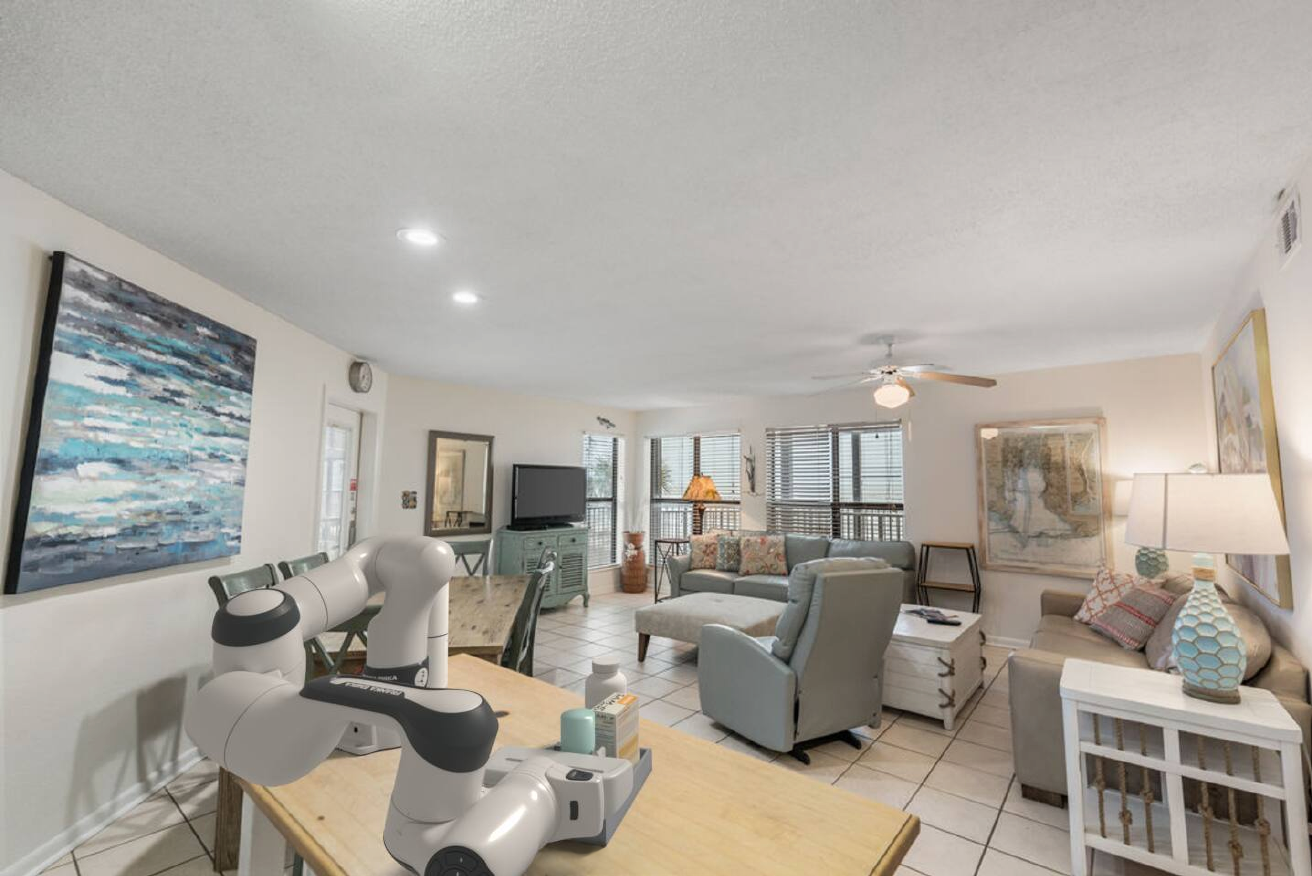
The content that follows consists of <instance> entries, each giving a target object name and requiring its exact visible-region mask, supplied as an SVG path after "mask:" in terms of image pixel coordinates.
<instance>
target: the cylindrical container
mask: <svg viewBox="0 0 1312 876" xmlns="http://www.w3.org/2000/svg"><path fill="white" fill-rule="evenodd" d="M449 592H450V581H449V582H448V583H447V584H446V585H444V586H443V587H442V588H441V589H440V591H439V592H438V594H437V595H436V597H435V600H434V602H433V605H432V608H431V611H430V615H429V621H428V636H427V655H428V656H429V677H428V683H427V687H429V688H447V686H448V678H449V677H448V676H449V675H448V674H449V673H448V670H449V669H448V667H449V666H448V664H449V662H448V661H449V613H450V612H449V603H450V600H449V597H450V593H449Z"/></svg>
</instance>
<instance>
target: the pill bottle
mask: <svg viewBox="0 0 1312 876" xmlns="http://www.w3.org/2000/svg"><path fill="white" fill-rule="evenodd" d="M620 661H621V660H620V659H619V658H618V657H615V656H609V655H608V656H599V657H595V658H594V659H593V660H592V661H591V672H592V673H590V674H588V676H587V677H586V679H585V681H584V683H585V684H584V708H585V709H590V710H591V709H593V708H594V707H595V706H597V705H598V704H600V703H601V702H602V701H604V700H605V699H606V698H608V697H609V696H611V695H612V694H613V693H624V694H628V693H627V692H628V691H627V690H628V689H627V688H628V687H627V686H628V685H627V684H628V683H627V682H628V681H627V678H626V676H625V674H623V673H622V672H620V670H621V669H620V668H621V667H620V665H621V662H620Z"/></svg>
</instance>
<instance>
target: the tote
mask: <svg viewBox="0 0 1312 876" xmlns="http://www.w3.org/2000/svg"><path fill="white" fill-rule="evenodd" d="M639 748H640V761H639V763H638V764H637V766H636V767H635V769H634V770H633V788H632V791H631V793H630V795H629V797H628V798H627V800H626V801H625V802H624V804H623V805H622V806H621V808H620V809H619V810H618V811H617V812H616V813H615V814H614V815H613V816H611V817H610V818H608V819H605V820H603V828H602V831H601V832H600V834H598V835H597V836H594V837H579V838H570V839H564V840H565V841H572V842H577V843H584V844H589V845H596V846H599V847H600V846H601V847H607V846H608V845H609V842H610V841H611V840H612V838H613V836H614V834H615V833H616V831H617V829H618V827H619V826H620V824H621V822H622V821H623V820H624V818H625V816H626V814H627V812H628V811H629V809H630V807H631V806H632V804H633V803H634V801H635V800H636V798H637V796H638V794H639V793H640V791H641V789H642V788H643V786H644V784H645V782H646V780H647V779H648V778H649V776H650V774H651V772H652V771H653V762H652V761H653V760H652V759H653V758H652V757H653V755H652V753H653V751H652V748H649V747H642V746H639Z"/></svg>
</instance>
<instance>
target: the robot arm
mask: <svg viewBox="0 0 1312 876" xmlns="http://www.w3.org/2000/svg"><path fill="white" fill-rule="evenodd" d="M455 568H456V555H455V552H454V549H453V548H452V547H451V545H450V544H449V543H447V542H446V541H443V540H442V539H441V540H440V539H438V538H435V537H431V536H428V535H427V536H426V535H410V534H409V535H406V534H403V535H402V534H399V535H397V534H377V535H372V536H368V537H365V538H361V539H359V540H356V542H354V543H352V544H351V545H350V547H349V548H348V549H347V551H346V552H344V553H343V554H342V555H340V556H338V557H337V558H335V559H333V560H331V561H328V562H326V563H324V564H320V565H319V566H317V567H314V568H311V569H309V570H307V571H305V572H302V573H299V574H296V575H295V576H292V577H289V578H287V579H285V580H283V581H280V582H279V583H277V584H274V585H273V586H272V585H271V587H264V588H256V589H255V588H254V589H250V590H247V591H244V592H240V593H239V594H236V595H234V596H232V597H231V598H229V599H228V600H227V601H226V602H224V603H223V604H222V605H220V607H219V608H218V609H217V611H216V612H215V613H214V617H213V620H212V625H211V630H210V636H211V638H212V640H213V641H212V642H213V645H212V671H213V676H214V678H213V679H211V680H210V681H208V682H207V683H205V684H204V685H203V686H201V688H200V689H199V690H198V691H197V692H196V693H195V694H194V696H193V697H192V699H191V700H190V701H189V704H187V705H188V706H187V708H186V710H185V713H184V717H183V727H184V728H183V729H184V731H185V732H184V733H186V736H187V738H188V739H189V740H190V741H191V742H192V744H194V746H195V747H196V748H197V749H198V750H199V751H200V752H202V753H203V754H204V755H205V756H206V757H208V759H210V760H211V761H213V762H214V763H215V764H217V765H218V766H220V767H221V768H223V769H225V770H226V771H228V772H230V773H232V774H234V775H235V776H237V777H239V778H241V779H243V780H244V781H246V782H249V783H251V784H254V785H257V786H261V787H267V788H277V787H281V786H285V785H289V784H292V783H294V782H296V781H298V780H301V779H302V778H304V777H305V776H307V775H308V774H310V773H311V772H313V771H314V770H315V769H317V767H319V766H320V765H321V764H322V763H323V762H324V761H325V760H326V759H327V758H328V757H330V755H331V754H332V752H333V751H334V750H335V749H338V748H339V749H338V750H341V749H342V751H345V752H349V753H351V754H355V755H361V756H362V755H367V754H370V753H373V752H377V751H380V750H381V751H382V750H386V749H393V748H397V747H401V754H400V758H399V763H398V768H397V772H396V775H395V780H394V784H393V788H392V792H391V794H390V800H389V803H388V809H387V813H386V818H385V823H384V829H383V834H382V835H383V836H382V839H383V844H384V847H385V849H386V851H387V853H388V854H389V855H390V857H391V858H392V859H393V861H395V862H396V863H397V864H399V865H400V866H401V867H403V868H404V869H406V870H407V871H408V872H411V873H413V874H414V875H416V876H523V875H524V873H525V872H526V871H527V870H528V869H529V867H530V866H531V864H532V863H533V862H534V860H535V857H536V855H537V853H538V851H541V849H543V848H544V847H545V846H546V845H547V844H550V843H555V842H558V841H563V840H565V839H570V838H579V837H594V836H597V835H598V834H600V832H601V831H602V828H603V820H605V819H608V818H610V817H611V816H613V815H614V814H615V813H616V812H617V811H618V810H619V809H620V808H621V806H622V805H623V804H624V802H625V801H626V800H627V798H628V797H629V795H630V793H631V791H632V788H633V766H632V764H631V762H630V761H629V760H626V759H618V758H610V757H605V756H606V749H605V747H600V746H595V748H593V749H592V755H586V754H578V753H570V752H562V751H561V741H559V740H558V741H557V740H554V742H552V743H551V744H549V745H545V746H542V747H538V748H537V747H530V746H521V745H513V744H507V745H503V746H500V747H498V748H497V749H496V750H495V751H494V752H493V753H492V750H493V748H494V744H495V742H496V741H495V740H496V738H497V734H498V732H499V728H500V727H499V726H500V725H499V720H498V717H497V715H496V713H495V712H494V710H493V708H492V706H491V705H490V703H489V702H488V700H486V698H485V697H484V696H483V695H482V694H480V693H479V692H477V691H474V690H470V689H463V688H447V687H445V688H429V687H427V683H428V677H429V656H428V655H427V636H428V621H429V615H430V611H431V608H432V605H433V602H434V600H435V597H436V595H437V594H438V592H439V591H440V589H441V588H442V587H443V586H444V585H446V584H447V583H448V582H449V583H450V580H451V579H452V577H453V576H454V572H455ZM381 593H385V594H384V595H385V597H384V600H383V603H382V605H381V609H380V610H379V612H378V613H377V614H376V615H374V616H373V617H372V618H371V620H369V622H368V625H367V634H366V635H367V636H366V639H367V641H366V662H364V664H362V665H360V666H357V667H355V668H354V670H356V671H354V672H353V673H354V674H349V673H347V674H345V673H338V674H337V673H335V674H327V675H323V676H318V677H316V678H313V679H311V680H309V681H308V682H307V683H305V682H306V681H305V680H306V669H307V668H306V667H307V665H306V664H307V661H306V660H307V657H306V648H305V647H304V645H305V644H304V643H305V642H307V641H309V640H312V639H314V638H315V637H318V636H319V635H321V634H323V633H325V632H327V631H329V630H331V629H333V628H334V627H337V626H338V625H341V624H343V623H345V622H347V621H349V620H350V619H352V618H354V617H357V616H358V615H359V614H361V612H363V611H364V610H365V608H366V607H367V604H368V601H369V600H370V599H371V598H373V596H375V595H377V594H381ZM359 673H360V675H356V674H359Z"/></svg>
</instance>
